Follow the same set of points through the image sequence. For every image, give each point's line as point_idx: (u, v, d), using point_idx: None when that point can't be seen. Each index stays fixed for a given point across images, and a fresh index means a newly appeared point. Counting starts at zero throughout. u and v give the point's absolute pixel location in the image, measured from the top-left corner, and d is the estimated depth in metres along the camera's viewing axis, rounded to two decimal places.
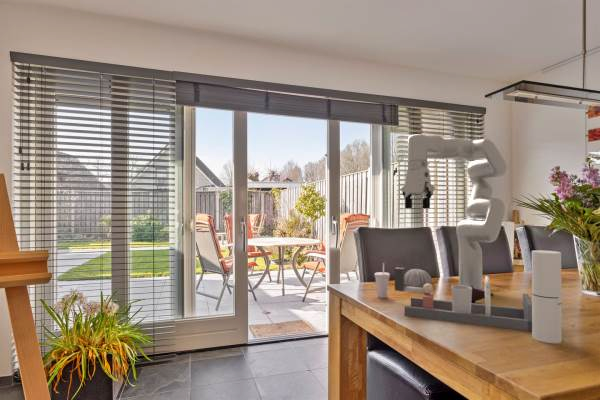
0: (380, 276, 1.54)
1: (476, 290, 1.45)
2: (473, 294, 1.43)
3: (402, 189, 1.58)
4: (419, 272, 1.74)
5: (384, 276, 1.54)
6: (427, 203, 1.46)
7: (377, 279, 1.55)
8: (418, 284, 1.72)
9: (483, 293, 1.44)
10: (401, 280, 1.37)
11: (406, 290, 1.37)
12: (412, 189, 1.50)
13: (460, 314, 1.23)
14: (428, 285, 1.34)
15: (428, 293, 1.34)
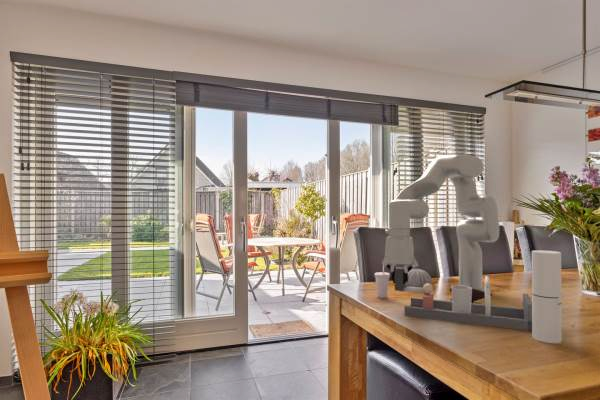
0: (380, 276, 1.54)
1: (474, 290, 1.45)
2: None
3: None
4: (419, 272, 1.74)
5: (384, 276, 1.54)
6: None
7: (377, 279, 1.55)
8: (418, 284, 1.72)
9: (481, 293, 1.44)
10: (401, 280, 1.37)
11: (406, 290, 1.37)
12: None
13: (460, 314, 1.23)
14: (428, 285, 1.34)
15: (428, 293, 1.34)
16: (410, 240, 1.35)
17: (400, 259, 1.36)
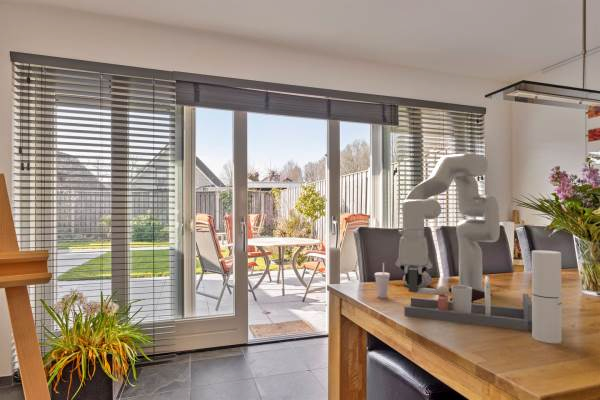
0: (380, 276, 1.54)
1: (474, 290, 1.45)
2: None
3: None
4: None
5: (384, 276, 1.54)
6: None
7: (377, 279, 1.55)
8: None
9: (481, 293, 1.44)
10: (415, 281, 1.35)
11: (421, 292, 1.35)
12: None
13: (460, 314, 1.23)
14: (443, 286, 1.32)
15: (443, 294, 1.32)
16: (424, 241, 1.33)
17: (414, 260, 1.34)
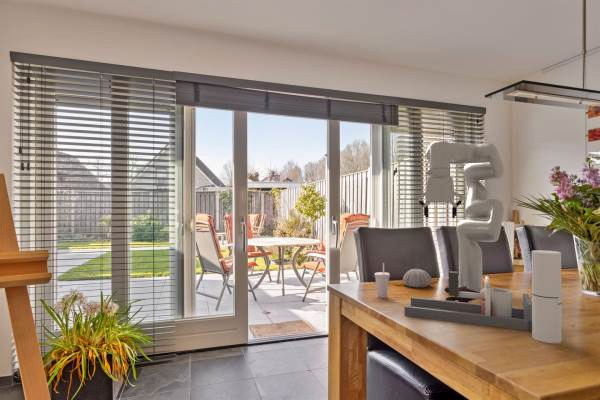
0: (380, 276, 1.54)
1: (469, 290, 1.45)
2: None
3: None
4: (419, 272, 1.74)
5: (384, 276, 1.54)
6: (424, 212, 1.48)
7: (377, 279, 1.55)
8: (418, 284, 1.72)
9: None
10: (456, 285, 1.29)
11: (462, 295, 1.29)
12: None
13: (460, 314, 1.23)
14: None
15: None
16: (451, 179, 1.42)
17: (441, 197, 1.42)
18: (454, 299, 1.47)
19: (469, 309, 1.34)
